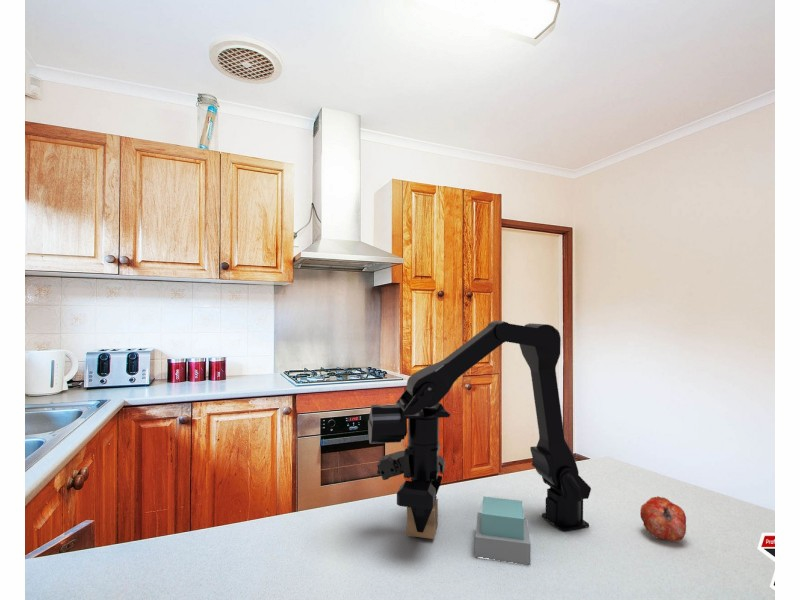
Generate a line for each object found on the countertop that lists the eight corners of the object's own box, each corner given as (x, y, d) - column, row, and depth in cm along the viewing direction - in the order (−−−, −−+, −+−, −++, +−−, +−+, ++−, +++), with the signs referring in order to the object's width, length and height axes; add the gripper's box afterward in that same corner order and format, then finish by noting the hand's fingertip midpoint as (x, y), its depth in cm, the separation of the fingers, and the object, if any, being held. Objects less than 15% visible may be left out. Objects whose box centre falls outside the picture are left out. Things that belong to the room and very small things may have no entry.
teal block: (483, 515, 79) (483, 496, 80) (521, 520, 78) (522, 500, 78) (481, 534, 73) (481, 513, 73) (523, 540, 71) (523, 519, 71)
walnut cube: (411, 522, 82) (412, 496, 82) (437, 525, 81) (437, 498, 81) (406, 535, 77) (407, 507, 77) (434, 539, 76) (434, 511, 76)
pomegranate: (637, 537, 83) (636, 523, 77) (643, 500, 87) (643, 484, 80) (682, 554, 79) (686, 541, 72) (686, 514, 82) (690, 498, 76)
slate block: (477, 533, 81) (477, 512, 81) (526, 539, 79) (526, 517, 79) (475, 560, 72) (475, 536, 72) (530, 568, 70) (530, 543, 70)
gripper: (393, 424, 90) (392, 498, 90) (368, 453, 72) (366, 546, 72) (445, 428, 88) (444, 504, 87) (433, 459, 70) (432, 555, 69)
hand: (422, 524), depth 79 cm, fingers closed on walnut cube, 5 cm apart
